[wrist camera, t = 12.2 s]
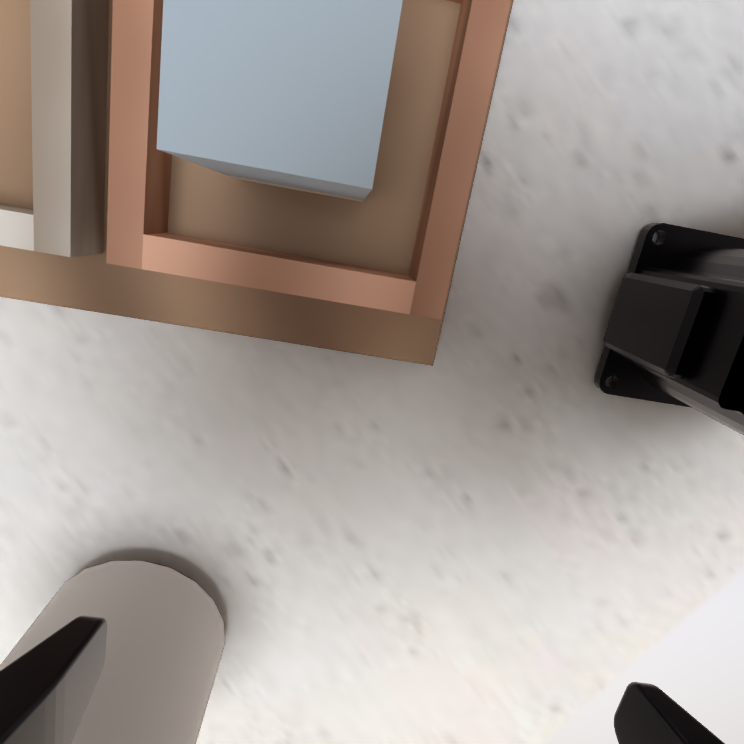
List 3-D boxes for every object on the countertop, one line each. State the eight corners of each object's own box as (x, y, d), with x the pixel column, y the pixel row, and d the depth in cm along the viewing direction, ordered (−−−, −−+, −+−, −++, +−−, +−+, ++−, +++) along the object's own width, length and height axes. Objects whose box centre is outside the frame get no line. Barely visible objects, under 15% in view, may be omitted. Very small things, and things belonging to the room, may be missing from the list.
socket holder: (519, -77, 15) (566, -159, 12) (426, 354, 19) (443, 382, 16) (-266, -273, 13) (-470, -437, 10) (-192, 255, 17) (-321, 263, 14)
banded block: (384, 64, 15) (412, -62, 8) (362, 202, 16) (372, 188, 9) (250, 36, 15) (168, -118, 8) (237, 179, 16) (156, 148, 9)
